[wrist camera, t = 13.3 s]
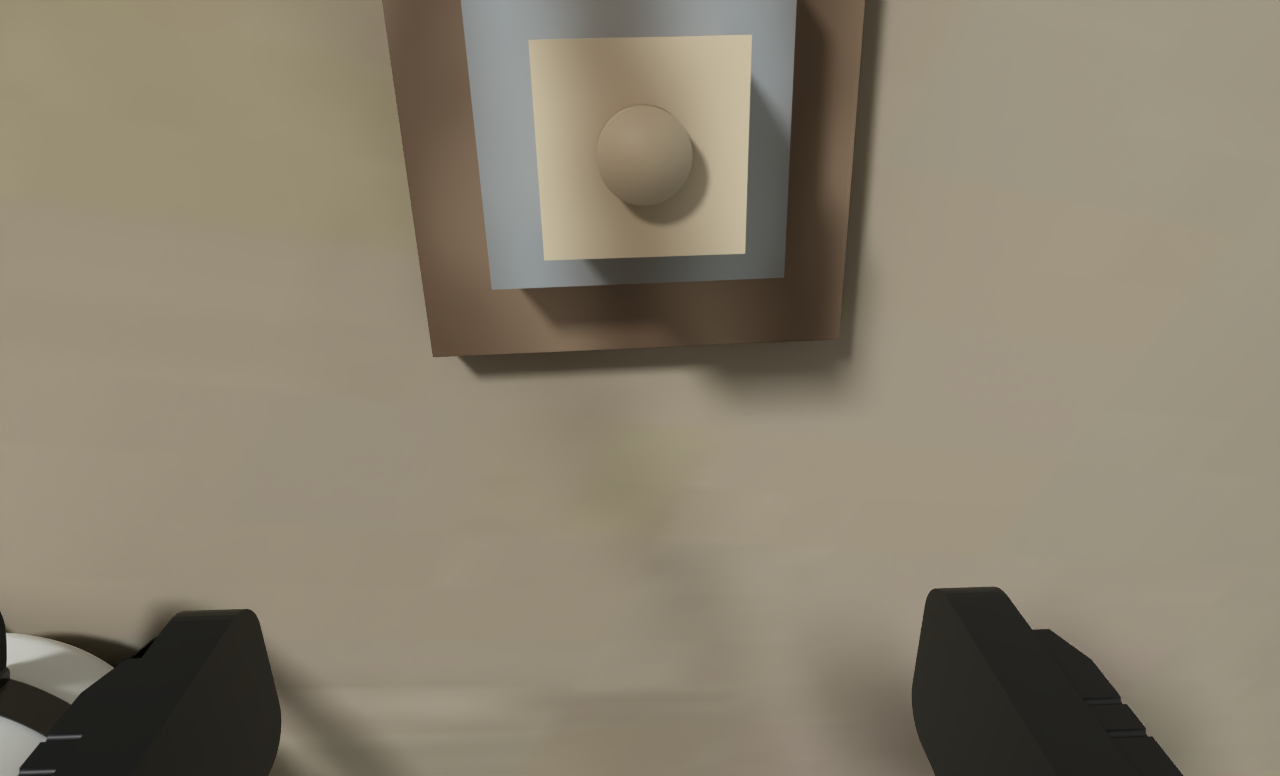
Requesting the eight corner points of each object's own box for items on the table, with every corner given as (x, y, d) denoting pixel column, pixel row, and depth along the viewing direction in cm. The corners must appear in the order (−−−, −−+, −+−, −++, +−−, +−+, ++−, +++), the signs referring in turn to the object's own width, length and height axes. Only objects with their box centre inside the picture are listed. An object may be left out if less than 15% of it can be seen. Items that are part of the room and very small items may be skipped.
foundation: (859, -160, 27) (913, -200, 22) (825, 322, 34) (862, 367, 29) (375, -149, 26) (328, -188, 22) (442, 339, 33) (417, 388, 28)
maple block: (722, 34, 24) (757, 34, 19) (719, 216, 27) (750, 261, 21) (541, 39, 24) (526, 40, 19) (553, 221, 26) (542, 268, 21)
